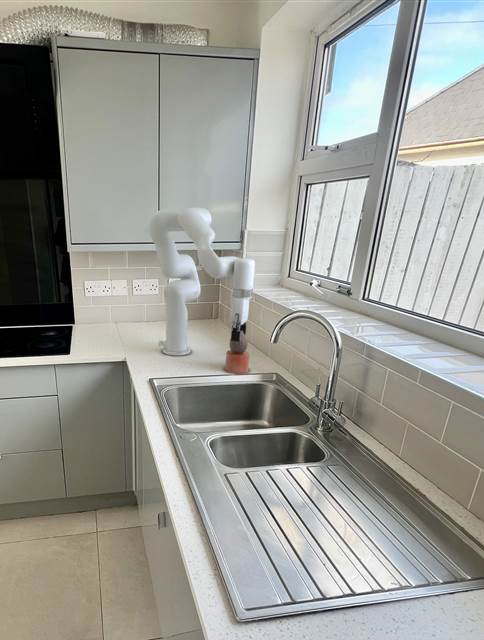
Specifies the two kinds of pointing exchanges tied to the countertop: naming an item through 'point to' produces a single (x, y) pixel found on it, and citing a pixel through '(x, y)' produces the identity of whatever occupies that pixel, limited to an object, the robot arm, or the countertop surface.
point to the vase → (239, 344)
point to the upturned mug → (237, 362)
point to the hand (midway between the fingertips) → (238, 337)
